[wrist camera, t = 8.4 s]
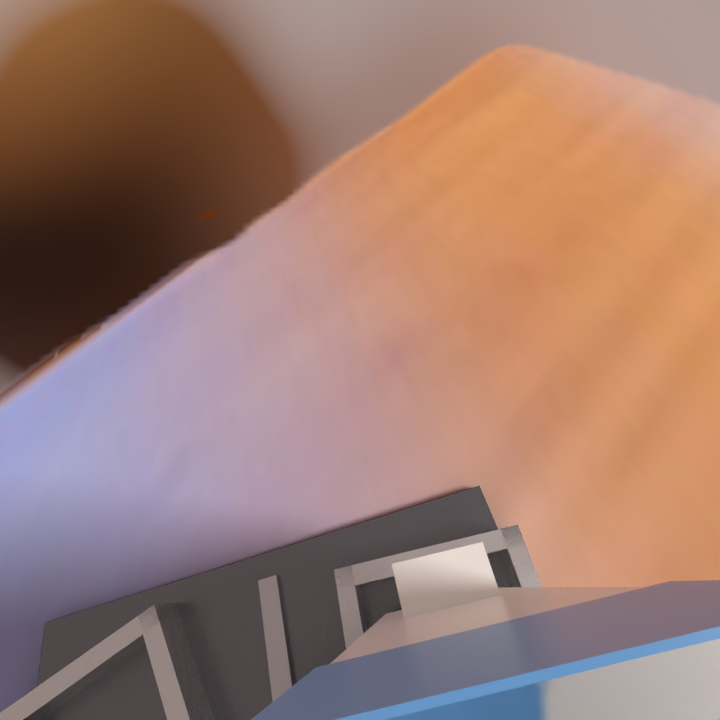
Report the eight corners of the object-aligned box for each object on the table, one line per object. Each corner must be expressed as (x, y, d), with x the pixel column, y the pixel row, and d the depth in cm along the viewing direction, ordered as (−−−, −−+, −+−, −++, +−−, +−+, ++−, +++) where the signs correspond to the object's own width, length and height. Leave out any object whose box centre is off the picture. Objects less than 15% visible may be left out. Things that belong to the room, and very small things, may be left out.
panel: (7, 1039, 12) (-18, 1066, 11) (54, 621, 18) (39, 623, 17) (620, 825, 13) (632, 839, 12) (477, 488, 18) (480, 484, 18)
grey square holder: (592, 760, 13) (619, 787, 12) (381, 811, 13) (376, 847, 12) (506, 531, 17) (517, 524, 15) (342, 571, 17) (333, 569, 15)
